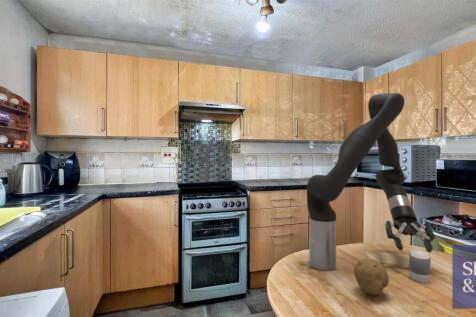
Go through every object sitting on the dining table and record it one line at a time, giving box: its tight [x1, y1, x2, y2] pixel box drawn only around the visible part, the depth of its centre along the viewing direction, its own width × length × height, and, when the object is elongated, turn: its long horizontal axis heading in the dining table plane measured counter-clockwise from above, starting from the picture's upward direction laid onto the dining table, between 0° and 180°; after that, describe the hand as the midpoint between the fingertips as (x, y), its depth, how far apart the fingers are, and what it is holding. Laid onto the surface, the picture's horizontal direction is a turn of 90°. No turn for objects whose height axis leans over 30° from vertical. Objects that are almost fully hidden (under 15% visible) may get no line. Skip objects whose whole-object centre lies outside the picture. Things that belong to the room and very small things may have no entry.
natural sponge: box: [353, 257, 390, 296], centre depth 72 cm, size 9×9×10 cm
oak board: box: [363, 250, 436, 271], centre depth 94 cm, size 20×11×1 cm, turn 76°
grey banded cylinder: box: [408, 248, 432, 284], centre depth 81 cm, size 6×6×9 cm
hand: (415, 250), depth 84 cm, fingers open, 8 cm apart
